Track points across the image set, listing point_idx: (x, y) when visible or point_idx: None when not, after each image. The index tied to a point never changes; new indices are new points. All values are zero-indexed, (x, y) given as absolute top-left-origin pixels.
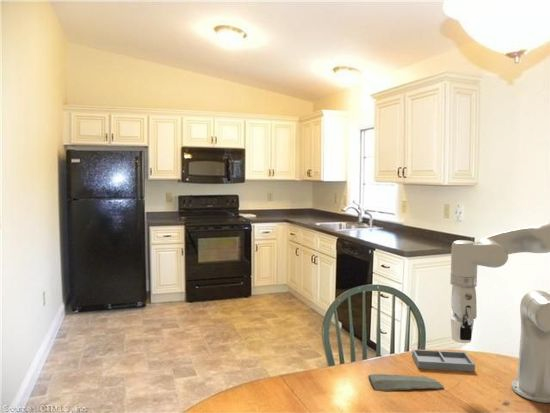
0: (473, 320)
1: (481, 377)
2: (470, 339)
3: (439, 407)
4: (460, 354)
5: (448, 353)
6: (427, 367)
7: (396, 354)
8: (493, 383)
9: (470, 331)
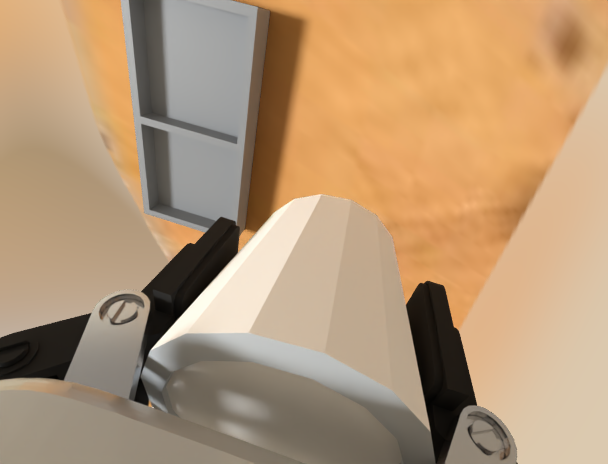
0: (387, 394)
1: (326, 9)
2: (441, 291)
3: (472, 294)
4: (136, 9)
5: (141, 75)
6: (246, 206)
7: (159, 241)
8: None
9: (453, 358)
